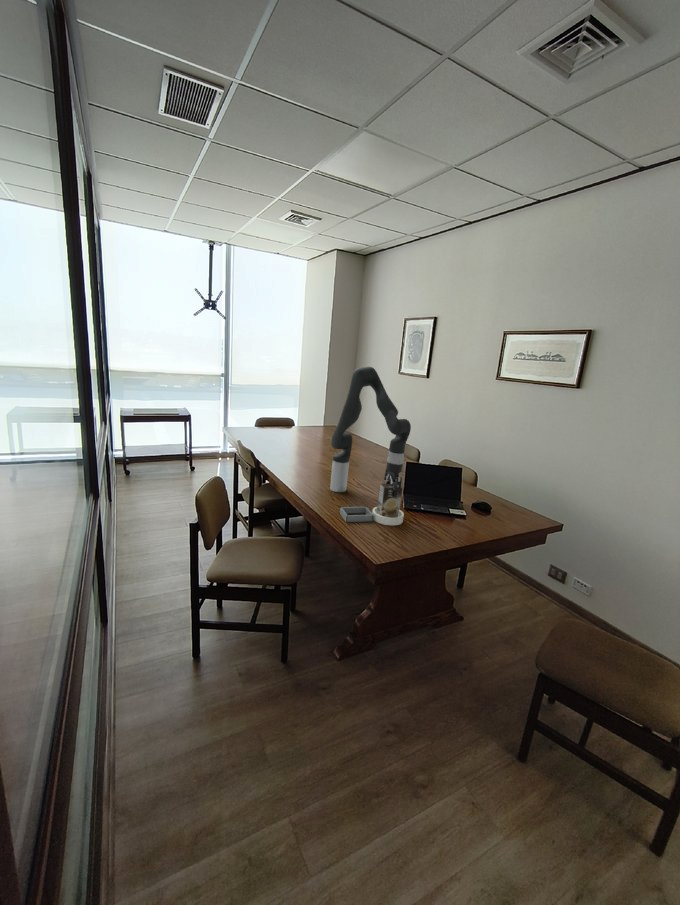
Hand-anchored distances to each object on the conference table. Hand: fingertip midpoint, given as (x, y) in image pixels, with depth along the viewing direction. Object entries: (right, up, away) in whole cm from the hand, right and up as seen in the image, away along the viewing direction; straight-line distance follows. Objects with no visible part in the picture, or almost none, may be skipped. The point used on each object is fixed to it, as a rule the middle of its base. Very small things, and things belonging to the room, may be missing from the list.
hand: (390, 493), depth 192 cm
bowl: (-1, -13, +3) cm, 13 cm away
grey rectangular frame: (-17, -11, +1) cm, 20 cm away
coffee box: (-1, -12, +3) cm, 12 cm away
